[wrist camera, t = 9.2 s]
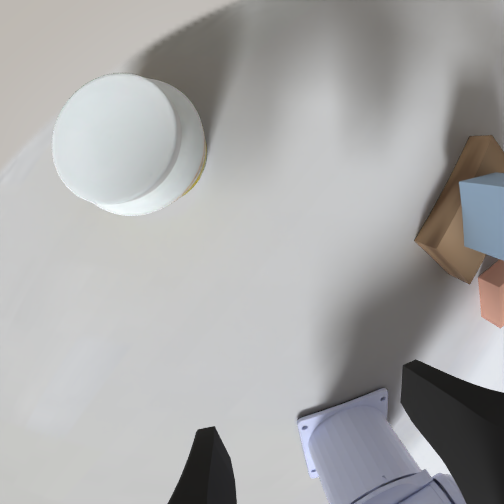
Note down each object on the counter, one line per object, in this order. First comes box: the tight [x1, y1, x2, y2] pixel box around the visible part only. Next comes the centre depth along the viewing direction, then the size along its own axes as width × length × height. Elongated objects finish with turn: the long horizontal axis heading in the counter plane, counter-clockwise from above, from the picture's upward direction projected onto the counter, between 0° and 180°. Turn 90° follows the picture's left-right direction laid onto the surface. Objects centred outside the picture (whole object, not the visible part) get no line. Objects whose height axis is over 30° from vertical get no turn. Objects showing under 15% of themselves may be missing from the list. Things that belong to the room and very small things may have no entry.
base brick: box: [414, 135, 504, 284], centre depth 20 cm, size 10×5×3 cm, turn 146°
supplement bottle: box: [52, 73, 207, 216], centre depth 13 cm, size 5×5×10 cm
